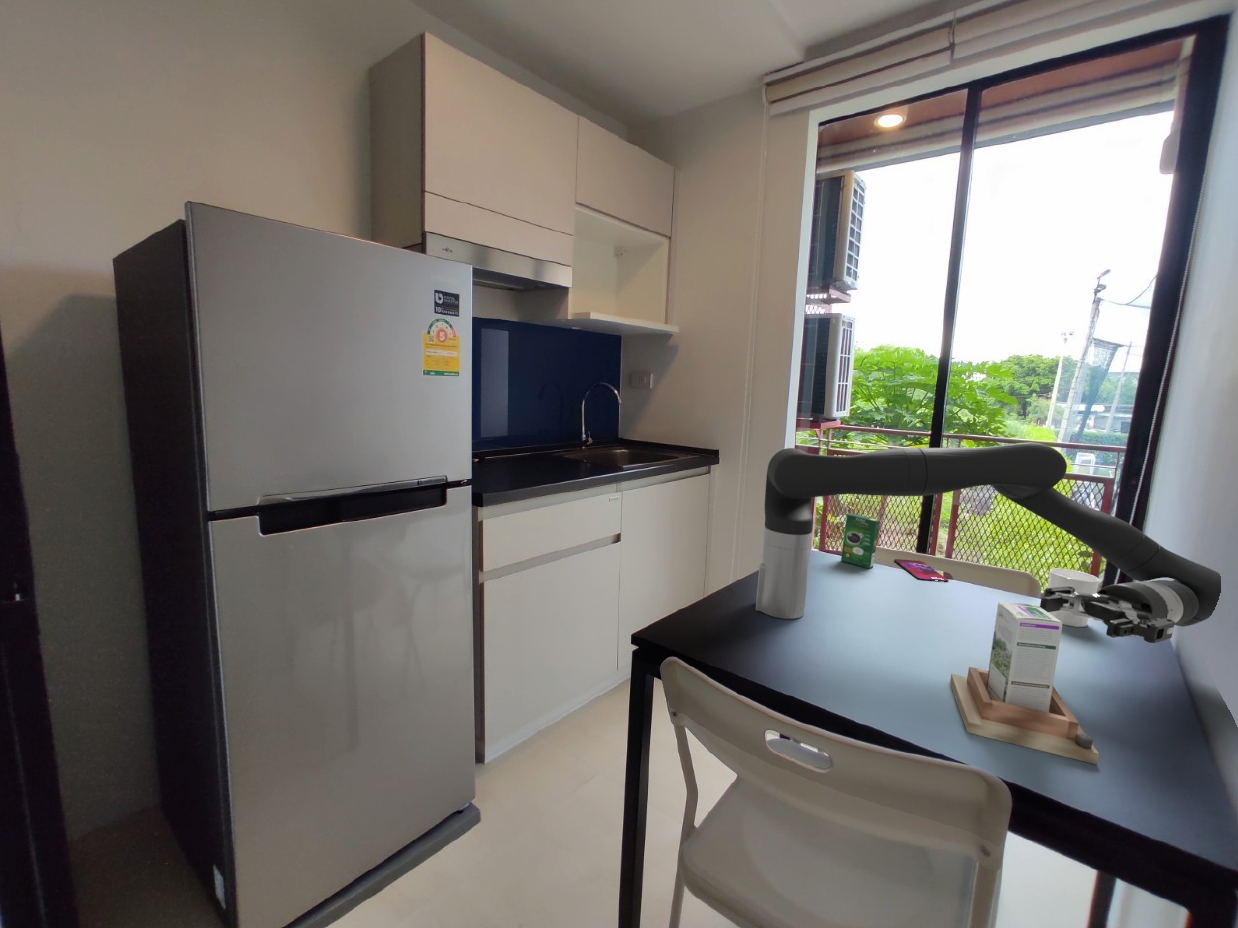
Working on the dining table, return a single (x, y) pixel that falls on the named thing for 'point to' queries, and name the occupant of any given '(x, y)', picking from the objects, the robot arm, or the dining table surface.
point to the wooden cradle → (1020, 720)
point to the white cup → (1081, 585)
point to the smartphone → (919, 570)
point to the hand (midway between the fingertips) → (1075, 616)
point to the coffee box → (860, 540)
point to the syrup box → (1023, 656)
